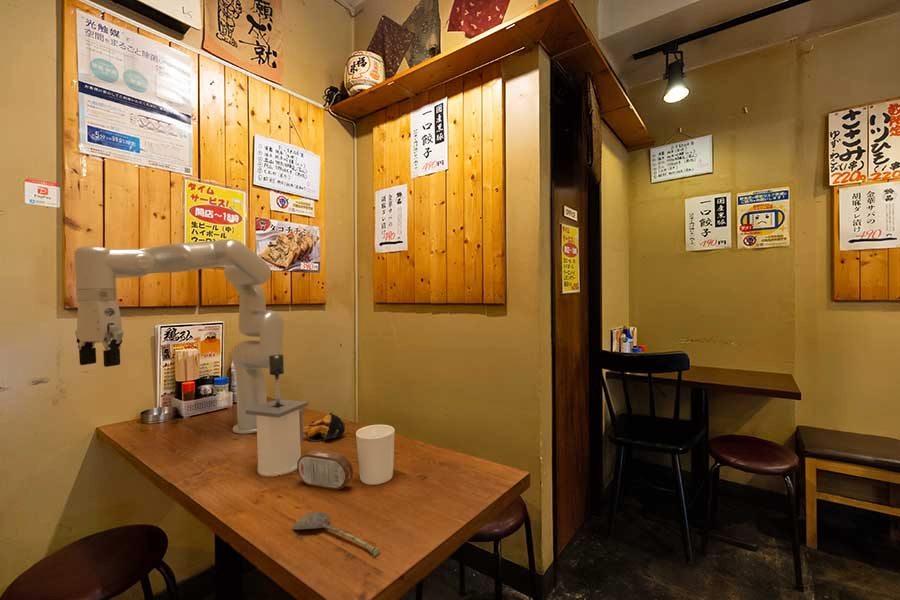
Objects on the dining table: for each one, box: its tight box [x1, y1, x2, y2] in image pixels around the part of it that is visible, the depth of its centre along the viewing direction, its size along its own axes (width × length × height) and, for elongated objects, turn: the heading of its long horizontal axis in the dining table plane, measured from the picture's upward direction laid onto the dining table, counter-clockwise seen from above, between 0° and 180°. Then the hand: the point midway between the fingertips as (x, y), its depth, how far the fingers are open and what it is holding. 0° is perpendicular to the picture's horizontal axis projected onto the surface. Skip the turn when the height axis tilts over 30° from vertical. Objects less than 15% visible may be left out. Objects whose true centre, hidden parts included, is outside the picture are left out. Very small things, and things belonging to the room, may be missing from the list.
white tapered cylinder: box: [355, 424, 396, 486], centre depth 100 cm, size 10×10×12 cm
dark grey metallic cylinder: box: [268, 353, 285, 408], centre depth 107 cm, size 8×8×17 cm
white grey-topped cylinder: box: [246, 398, 309, 477], centre depth 108 cm, size 14×11×17 cm
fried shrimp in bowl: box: [303, 412, 346, 442], centre depth 126 cm, size 9×11×18 cm
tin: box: [296, 449, 354, 491], centre depth 96 cm, size 15×3×8 cm, turn 71°
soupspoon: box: [292, 511, 381, 558], centre depth 76 cm, size 22×3×7 cm
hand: (100, 364), depth 97 cm, fingers open, 9 cm apart
